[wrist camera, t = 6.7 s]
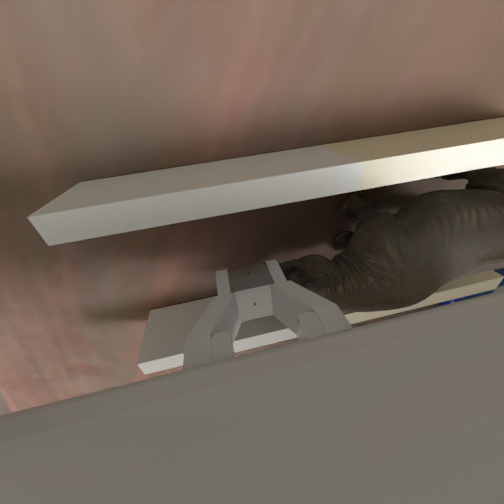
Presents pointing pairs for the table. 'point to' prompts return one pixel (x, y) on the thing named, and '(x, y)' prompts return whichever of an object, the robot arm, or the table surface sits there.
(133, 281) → the table surface
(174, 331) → the parallel wooden rails
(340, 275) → the rhino figurine
